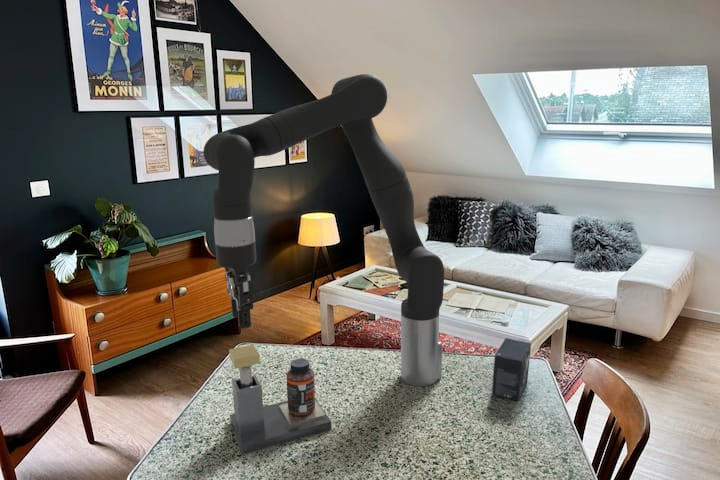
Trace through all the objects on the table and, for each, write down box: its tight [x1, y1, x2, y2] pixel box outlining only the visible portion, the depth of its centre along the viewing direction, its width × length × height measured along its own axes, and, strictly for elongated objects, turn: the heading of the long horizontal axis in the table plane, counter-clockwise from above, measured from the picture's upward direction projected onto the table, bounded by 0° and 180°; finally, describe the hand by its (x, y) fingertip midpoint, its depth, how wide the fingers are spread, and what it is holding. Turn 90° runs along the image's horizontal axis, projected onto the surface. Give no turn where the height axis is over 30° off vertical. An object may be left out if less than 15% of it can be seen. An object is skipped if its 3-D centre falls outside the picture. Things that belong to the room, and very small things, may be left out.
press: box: [229, 374, 332, 455], centre depth 117 cm, size 19×12×12 cm, turn 114°
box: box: [491, 337, 532, 402], centre depth 130 cm, size 11×7×10 cm, turn 152°
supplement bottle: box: [286, 358, 316, 416], centre depth 118 cm, size 6×6×11 cm
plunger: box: [228, 344, 261, 389], centre depth 112 cm, size 5×5×12 cm
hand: (241, 321), depth 109 cm, fingers open, 5 cm apart
